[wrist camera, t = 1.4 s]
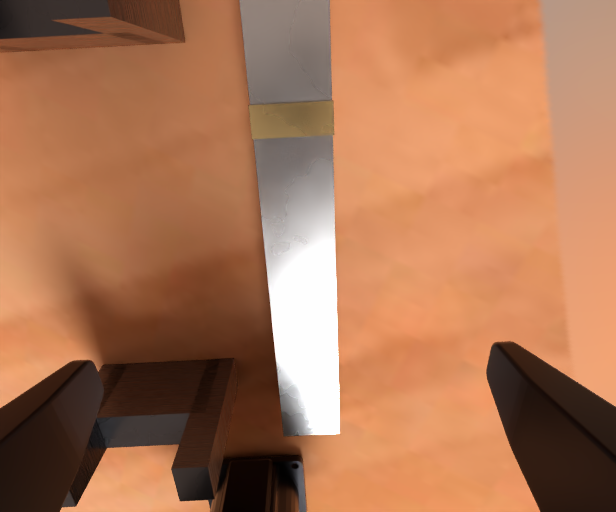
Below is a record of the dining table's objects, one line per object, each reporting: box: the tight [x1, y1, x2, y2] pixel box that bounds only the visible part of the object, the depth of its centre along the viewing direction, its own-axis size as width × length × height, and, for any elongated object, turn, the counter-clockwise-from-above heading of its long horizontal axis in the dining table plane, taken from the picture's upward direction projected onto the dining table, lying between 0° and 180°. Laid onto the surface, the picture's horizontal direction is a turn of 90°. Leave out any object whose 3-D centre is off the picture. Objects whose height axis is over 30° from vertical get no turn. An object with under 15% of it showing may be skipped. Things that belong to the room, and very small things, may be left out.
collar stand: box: [0, 0, 238, 507], centre depth 16 cm, size 20×8×7 cm, turn 3°
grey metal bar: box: [239, 0, 340, 436], centre depth 18 cm, size 22×3×3 cm, turn 3°
